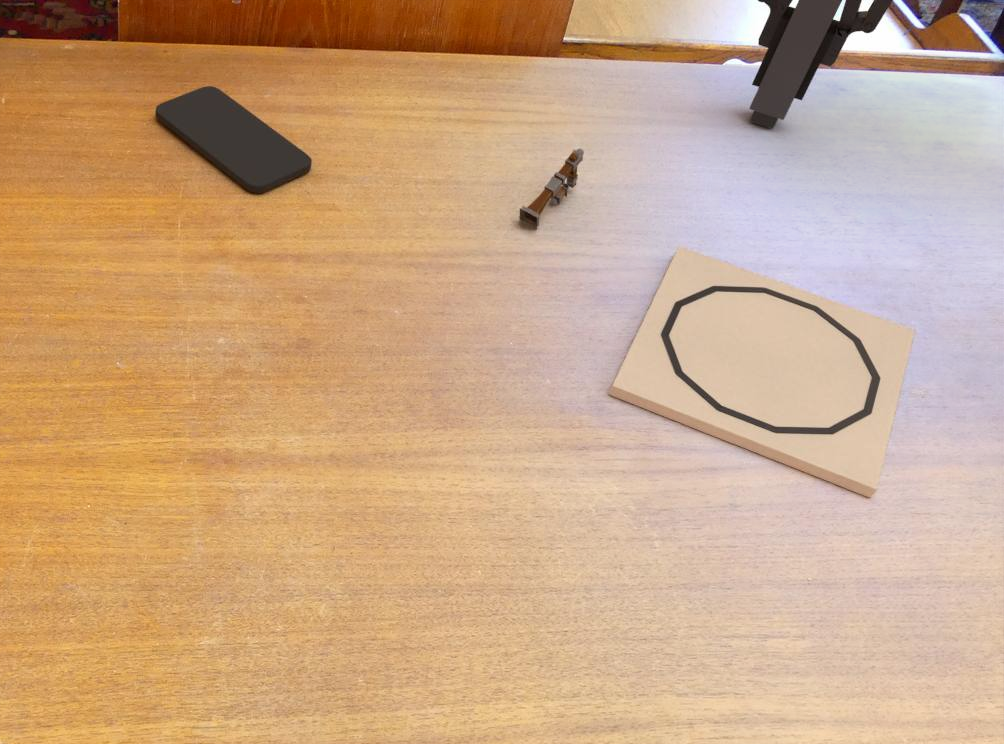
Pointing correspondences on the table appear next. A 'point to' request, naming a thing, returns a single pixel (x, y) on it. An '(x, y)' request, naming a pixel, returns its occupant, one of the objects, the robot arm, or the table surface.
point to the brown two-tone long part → (553, 189)
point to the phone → (233, 139)
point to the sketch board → (769, 369)
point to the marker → (792, 60)
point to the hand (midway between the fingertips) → (779, 85)
